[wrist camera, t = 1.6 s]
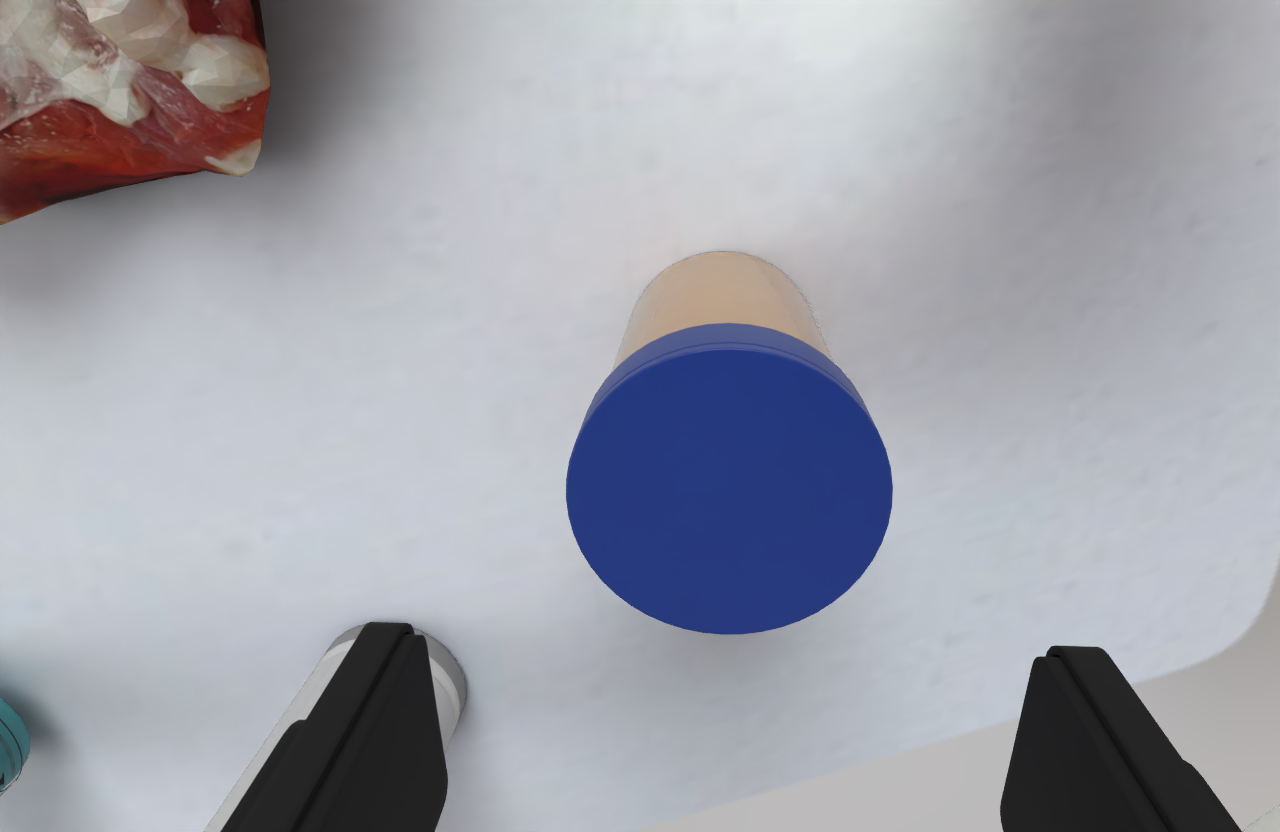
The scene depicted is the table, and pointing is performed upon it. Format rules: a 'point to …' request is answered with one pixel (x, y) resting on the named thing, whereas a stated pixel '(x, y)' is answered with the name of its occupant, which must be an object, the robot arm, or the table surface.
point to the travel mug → (443, 672)
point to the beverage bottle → (11, 744)
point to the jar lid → (728, 480)
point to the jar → (720, 301)
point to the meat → (125, 95)
